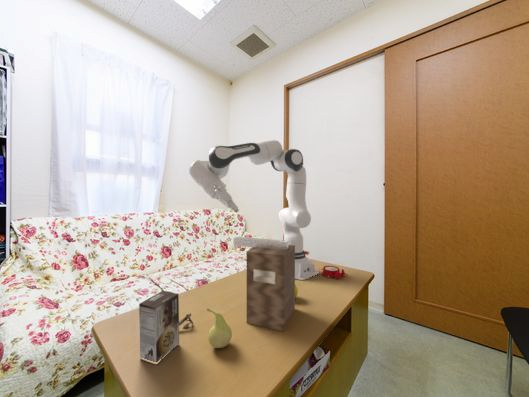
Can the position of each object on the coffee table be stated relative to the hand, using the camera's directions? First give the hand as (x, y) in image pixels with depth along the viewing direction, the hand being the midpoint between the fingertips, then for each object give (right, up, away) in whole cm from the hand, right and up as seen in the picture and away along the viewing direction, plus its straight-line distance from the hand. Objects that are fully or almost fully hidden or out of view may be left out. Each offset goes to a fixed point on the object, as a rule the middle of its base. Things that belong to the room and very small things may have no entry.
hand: (237, 210), depth 101 cm
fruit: (-1, -40, -34) cm, 52 cm away
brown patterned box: (+15, -39, -16) cm, 45 cm away
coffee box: (-18, -40, -36) cm, 57 cm away
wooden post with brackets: (-17, -40, -25) cm, 50 cm away
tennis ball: (+24, -40, -3) cm, 46 cm away
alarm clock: (+53, -39, +26) cm, 71 cm away
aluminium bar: (+11, -13, -15) cm, 23 cm away
